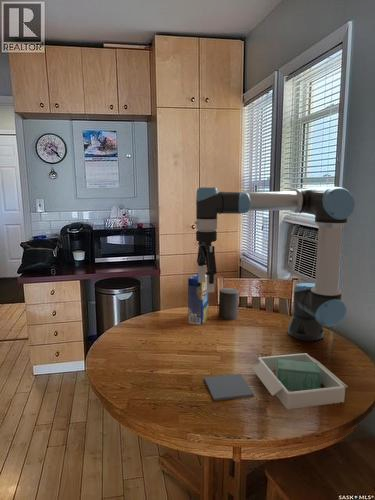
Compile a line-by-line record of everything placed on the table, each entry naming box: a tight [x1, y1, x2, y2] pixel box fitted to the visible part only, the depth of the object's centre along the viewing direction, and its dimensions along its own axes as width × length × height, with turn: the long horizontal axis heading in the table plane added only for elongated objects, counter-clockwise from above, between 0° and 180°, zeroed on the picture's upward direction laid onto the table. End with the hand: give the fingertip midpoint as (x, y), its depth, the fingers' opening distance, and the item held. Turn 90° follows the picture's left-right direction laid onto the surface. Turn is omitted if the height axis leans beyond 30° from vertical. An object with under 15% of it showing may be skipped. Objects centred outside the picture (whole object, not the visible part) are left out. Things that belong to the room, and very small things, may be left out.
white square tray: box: [251, 352, 349, 410], centre depth 123 cm, size 25×24×5 cm
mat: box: [203, 373, 255, 401], centre depth 122 cm, size 13×13×1 cm
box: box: [275, 359, 322, 391], centre depth 123 cm, size 7×14×8 cm, turn 79°
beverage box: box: [187, 273, 210, 326], centre depth 181 cm, size 7×11×22 cm, turn 160°
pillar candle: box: [218, 287, 240, 321], centre depth 187 cm, size 10×10×15 cm
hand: (205, 287), depth 139 cm, fingers open, 13 cm apart
